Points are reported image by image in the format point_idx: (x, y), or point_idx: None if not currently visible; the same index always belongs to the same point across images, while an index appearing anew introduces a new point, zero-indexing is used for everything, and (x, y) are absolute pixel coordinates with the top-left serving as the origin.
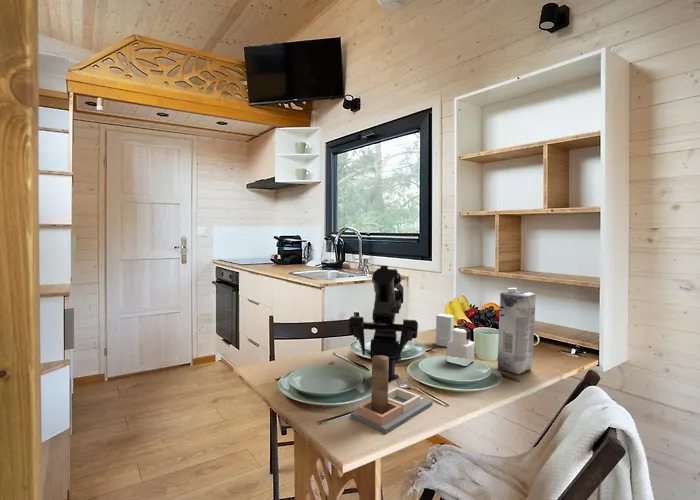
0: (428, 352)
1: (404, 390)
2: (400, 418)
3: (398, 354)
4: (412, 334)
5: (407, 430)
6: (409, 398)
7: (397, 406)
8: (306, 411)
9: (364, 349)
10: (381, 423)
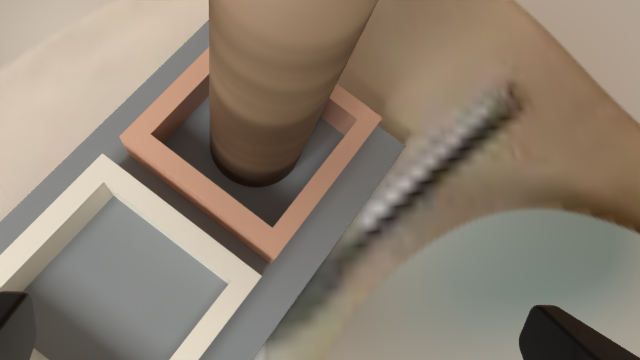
0: None
1: None
2: (138, 109)
3: (13, 301)
4: None
5: (113, 48)
6: (34, 353)
7: (147, 132)
8: (601, 190)
9: (572, 337)
10: None
